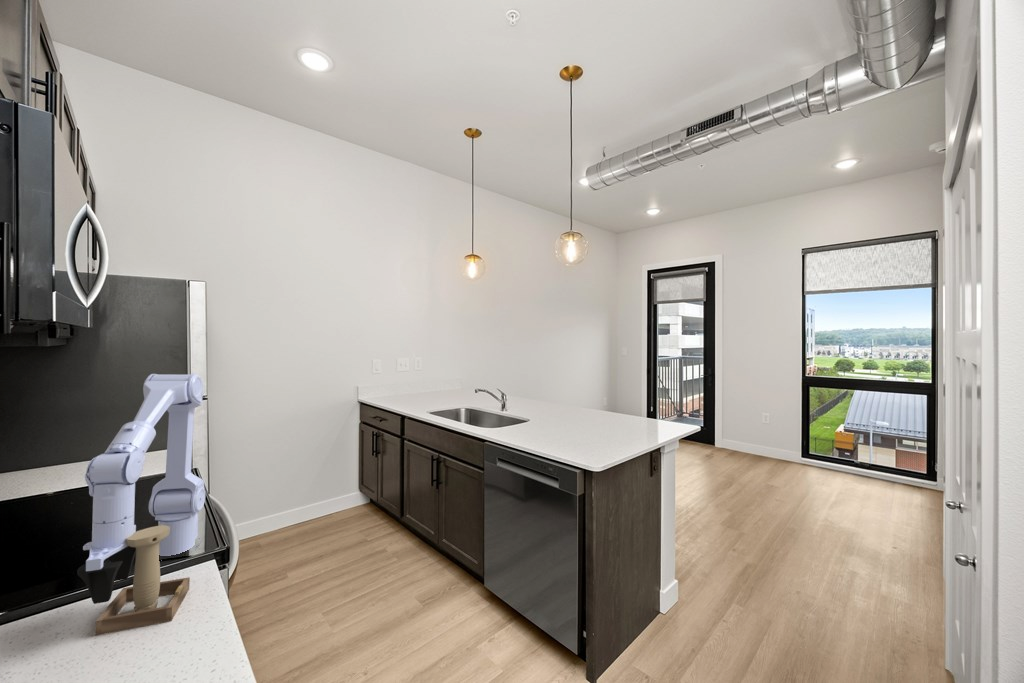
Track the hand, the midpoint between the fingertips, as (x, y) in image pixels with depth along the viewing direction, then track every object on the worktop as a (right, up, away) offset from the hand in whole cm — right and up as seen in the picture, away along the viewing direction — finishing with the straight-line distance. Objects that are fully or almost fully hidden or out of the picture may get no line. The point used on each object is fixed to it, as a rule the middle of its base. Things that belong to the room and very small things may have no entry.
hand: (111, 590), depth 79 cm
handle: (+5, -5, +2) cm, 7 cm away
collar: (+5, -5, +2) cm, 7 cm away
